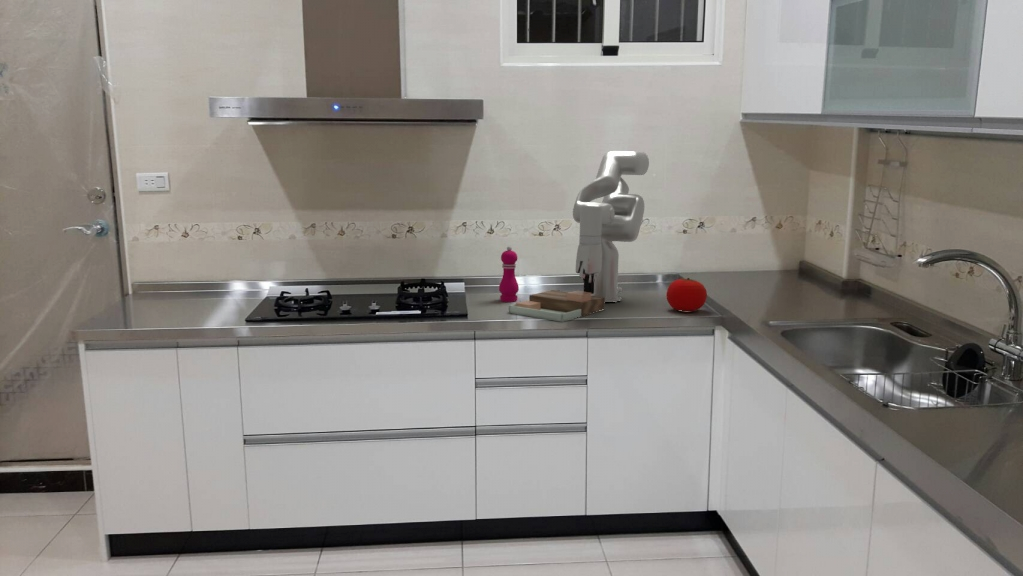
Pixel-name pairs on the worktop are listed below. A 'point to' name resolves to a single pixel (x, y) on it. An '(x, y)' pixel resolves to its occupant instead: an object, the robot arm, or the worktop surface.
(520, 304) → the tile
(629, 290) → the worktop surface
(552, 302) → the board
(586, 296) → the tile
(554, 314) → the tray
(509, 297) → the pepper mill
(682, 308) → the tomato
